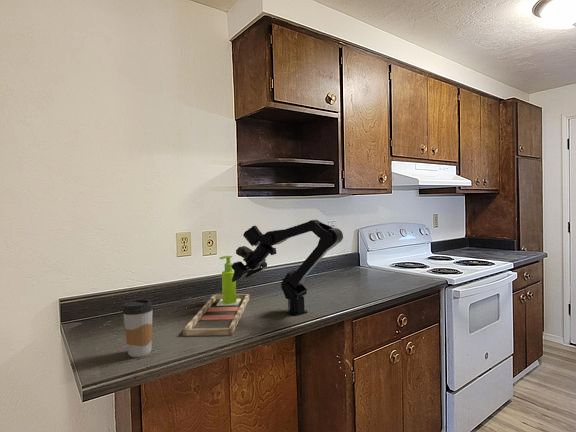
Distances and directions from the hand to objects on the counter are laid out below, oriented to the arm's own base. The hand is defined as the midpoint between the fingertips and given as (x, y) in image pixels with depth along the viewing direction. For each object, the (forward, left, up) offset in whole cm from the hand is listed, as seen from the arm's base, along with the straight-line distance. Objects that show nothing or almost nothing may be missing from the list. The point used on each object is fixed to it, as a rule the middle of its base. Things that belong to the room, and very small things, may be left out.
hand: (239, 279), depth 152 cm
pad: (+5, +2, -11) cm, 12 cm away
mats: (-7, +12, -11) cm, 17 cm away
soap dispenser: (+5, +3, -11) cm, 12 cm away
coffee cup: (-25, +47, -11) cm, 54 cm away
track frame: (-7, +12, -11) cm, 17 cm away
